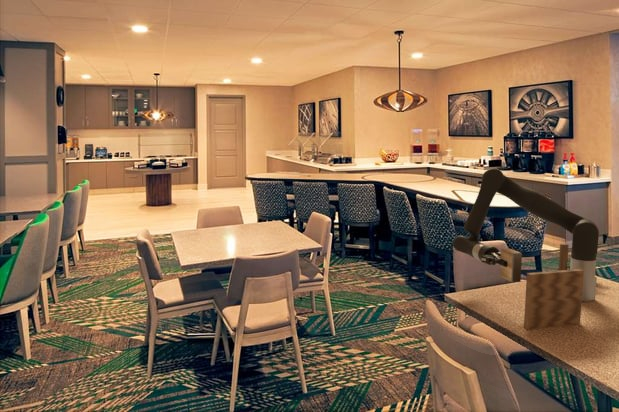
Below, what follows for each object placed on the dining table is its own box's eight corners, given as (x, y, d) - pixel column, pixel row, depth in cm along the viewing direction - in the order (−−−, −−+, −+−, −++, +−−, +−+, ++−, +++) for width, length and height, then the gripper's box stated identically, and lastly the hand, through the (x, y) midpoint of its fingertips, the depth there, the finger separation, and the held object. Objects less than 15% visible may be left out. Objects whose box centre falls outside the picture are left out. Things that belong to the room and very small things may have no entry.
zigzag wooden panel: (566, 316, 188) (569, 265, 185) (580, 323, 181) (583, 270, 179) (515, 322, 183) (517, 269, 180) (527, 329, 176) (530, 274, 174)
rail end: (507, 275, 194) (508, 248, 193) (520, 281, 187) (522, 253, 185) (499, 276, 194) (501, 248, 192) (512, 282, 186) (514, 253, 184)
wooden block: (582, 285, 226) (585, 246, 224) (556, 282, 232) (559, 244, 229) (583, 283, 229) (586, 245, 227) (557, 280, 235) (560, 242, 232)
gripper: (470, 245, 203) (495, 255, 187) (501, 243, 206) (528, 253, 190) (470, 263, 204) (494, 274, 188) (500, 261, 208) (527, 272, 191)
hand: (511, 263), depth 189 cm, fingers closed on rail end, 3 cm apart
